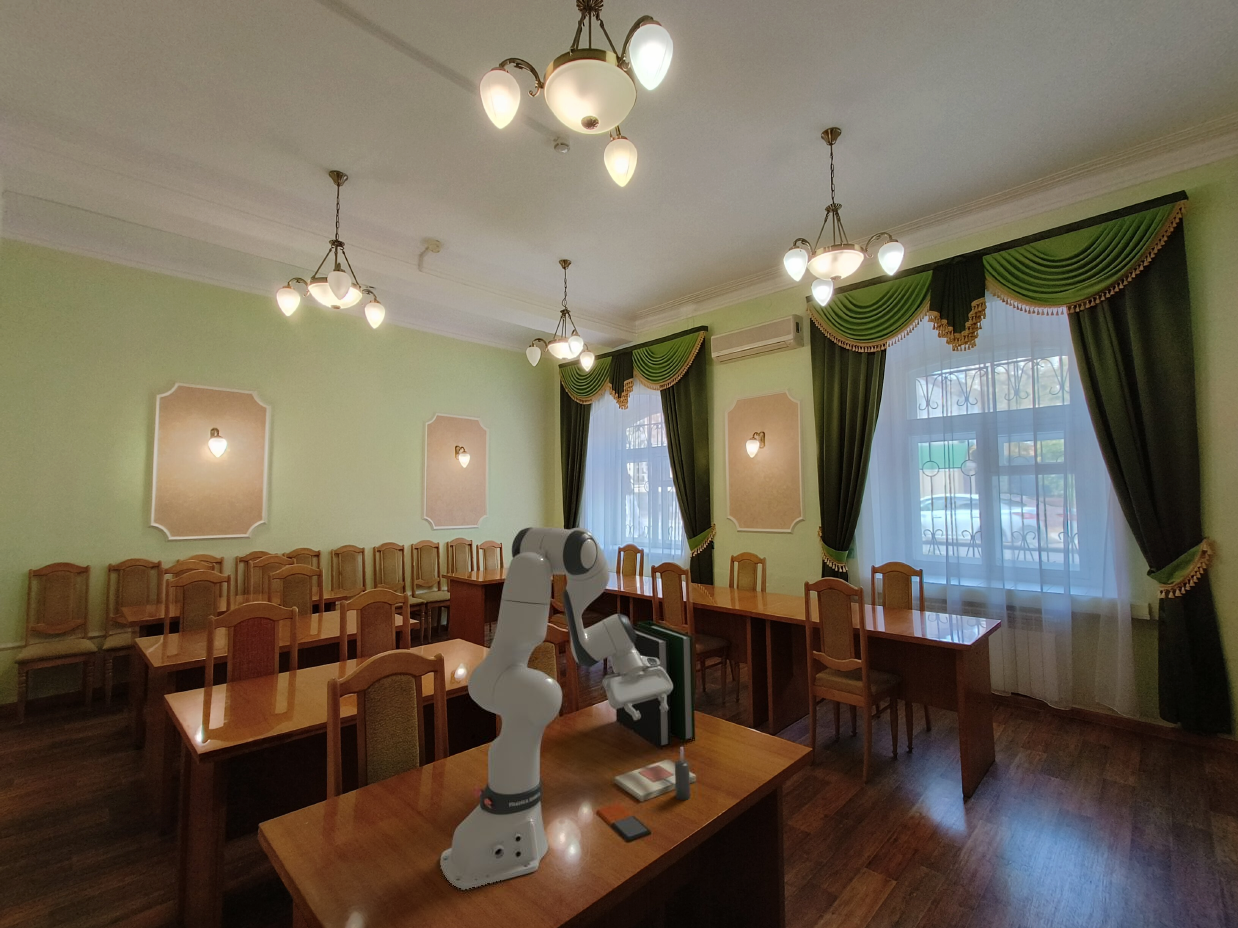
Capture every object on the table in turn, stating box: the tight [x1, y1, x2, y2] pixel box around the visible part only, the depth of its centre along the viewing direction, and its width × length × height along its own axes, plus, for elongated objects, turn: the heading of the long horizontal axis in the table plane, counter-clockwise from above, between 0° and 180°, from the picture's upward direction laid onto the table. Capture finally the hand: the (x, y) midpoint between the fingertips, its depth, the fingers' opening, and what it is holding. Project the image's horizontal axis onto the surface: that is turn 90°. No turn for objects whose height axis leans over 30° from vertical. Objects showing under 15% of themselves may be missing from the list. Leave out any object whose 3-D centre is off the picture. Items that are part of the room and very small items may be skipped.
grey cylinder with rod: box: [674, 746, 691, 801], centre depth 147 cm, size 4×4×12 cm
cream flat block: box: [614, 758, 697, 802], centre depth 155 cm, size 18×12×2 cm, turn 124°
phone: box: [596, 802, 652, 843], centre depth 136 cm, size 6×1×15 cm
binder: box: [615, 620, 696, 750], centre depth 191 cm, size 27×15×32 cm, turn 28°
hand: (652, 714), depth 158 cm, fingers open, 8 cm apart
